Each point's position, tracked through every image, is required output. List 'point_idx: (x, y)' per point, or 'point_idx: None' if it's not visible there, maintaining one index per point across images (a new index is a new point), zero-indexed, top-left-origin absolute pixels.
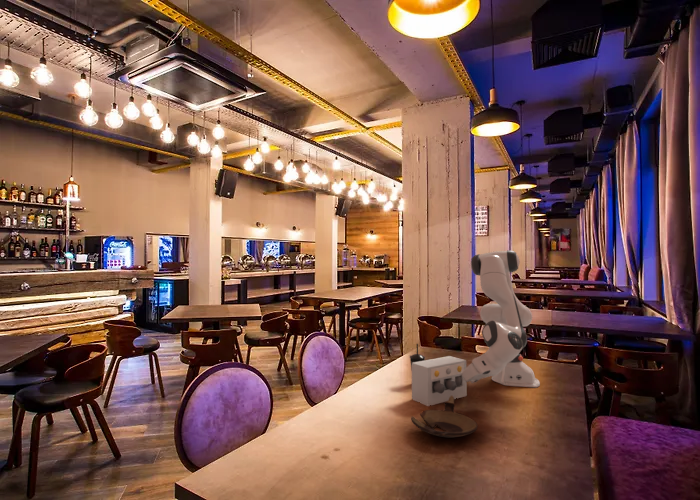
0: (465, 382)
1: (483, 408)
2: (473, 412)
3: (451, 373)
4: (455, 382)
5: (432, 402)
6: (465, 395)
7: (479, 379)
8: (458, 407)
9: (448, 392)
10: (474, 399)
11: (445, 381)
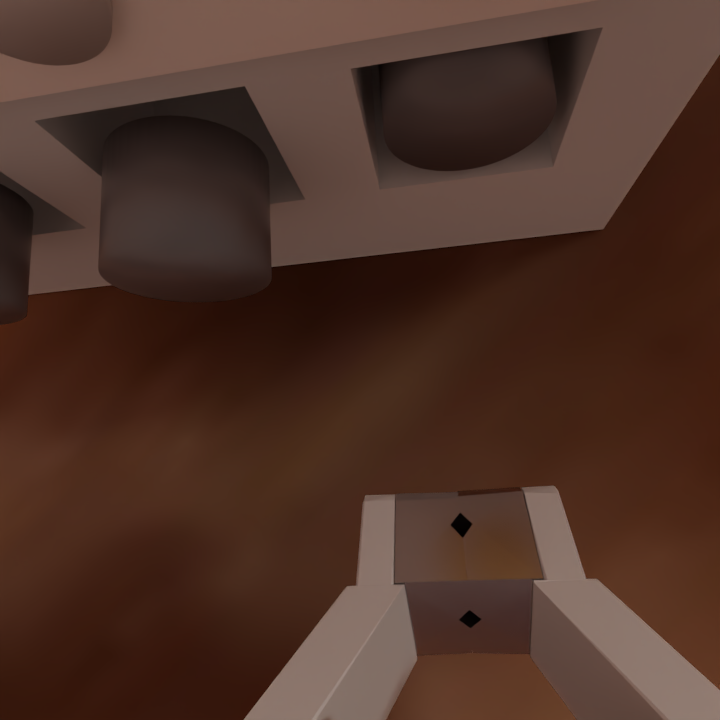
0: (641, 128)
1: (461, 667)
2: (251, 692)
3: (181, 30)
4: (230, 250)
5: (38, 283)
6: (580, 228)
7: (584, 703)
8: (225, 478)
9: None
10: (601, 368)
11: (105, 144)
